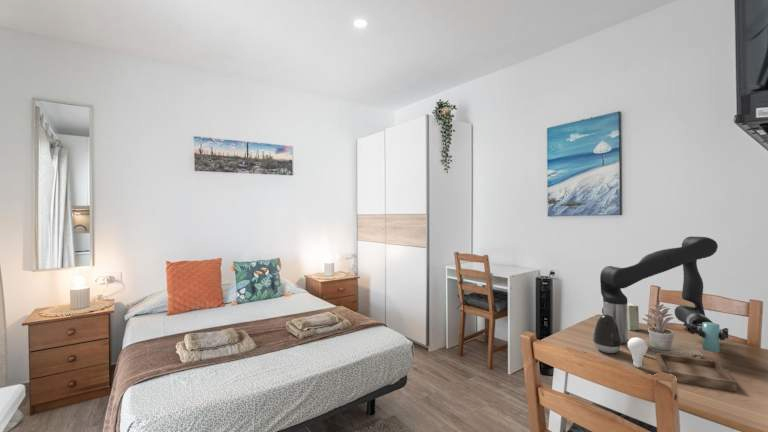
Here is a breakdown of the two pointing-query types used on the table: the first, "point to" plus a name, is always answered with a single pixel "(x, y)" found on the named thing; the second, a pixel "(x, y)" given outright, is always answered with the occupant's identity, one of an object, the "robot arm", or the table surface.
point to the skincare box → (633, 316)
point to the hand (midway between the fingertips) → (713, 336)
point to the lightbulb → (637, 350)
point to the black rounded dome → (607, 335)
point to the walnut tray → (696, 371)
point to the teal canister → (710, 337)
